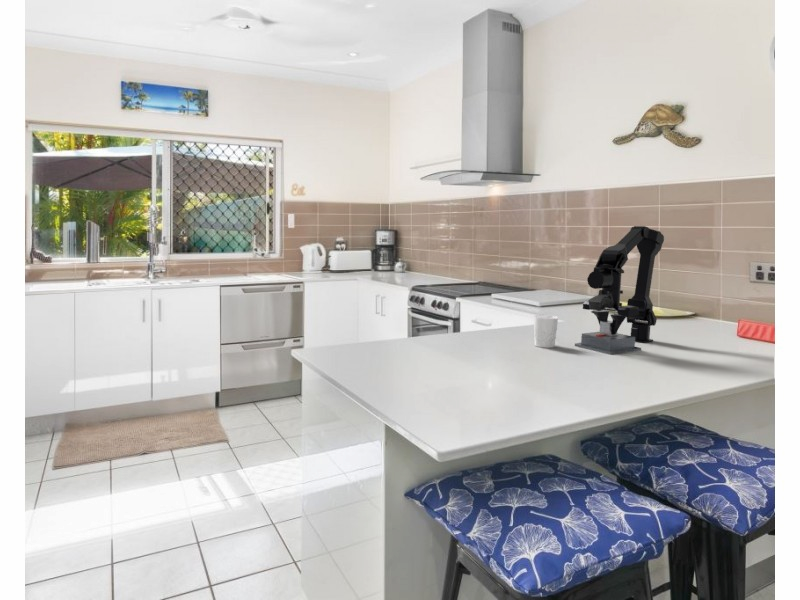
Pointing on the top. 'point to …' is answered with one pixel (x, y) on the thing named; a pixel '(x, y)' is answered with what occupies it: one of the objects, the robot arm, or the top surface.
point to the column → (606, 328)
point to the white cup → (545, 330)
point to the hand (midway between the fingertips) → (608, 333)
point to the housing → (608, 343)
